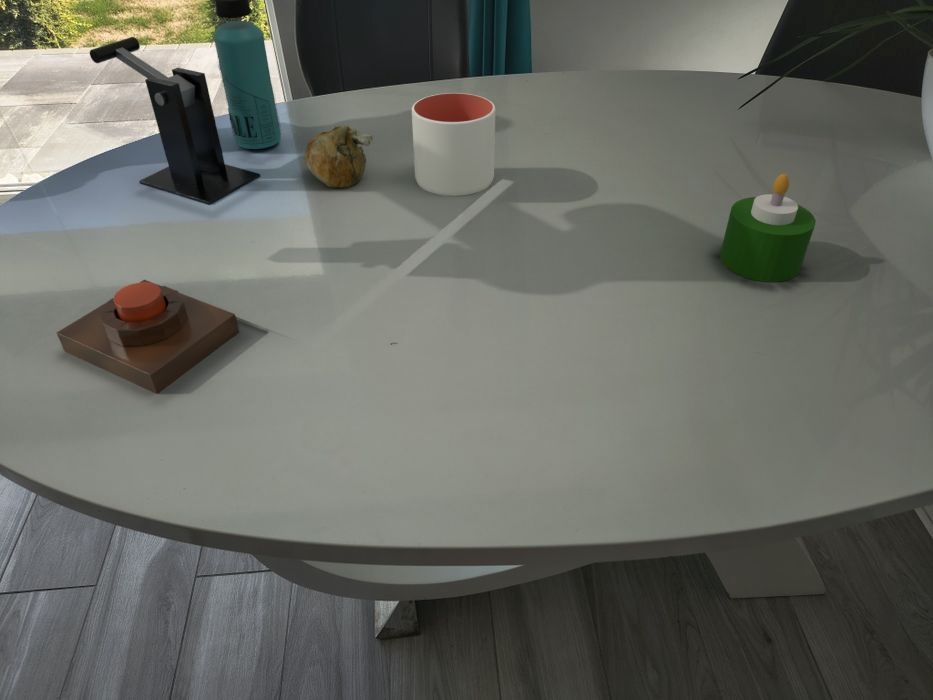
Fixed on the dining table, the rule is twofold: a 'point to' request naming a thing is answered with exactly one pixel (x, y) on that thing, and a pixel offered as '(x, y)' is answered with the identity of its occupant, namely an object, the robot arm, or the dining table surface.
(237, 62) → the beverage bottle
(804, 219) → the candle
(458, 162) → the cup
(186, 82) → the lever
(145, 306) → the button
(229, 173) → the bracket
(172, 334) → the button block
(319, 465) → the dining table surface
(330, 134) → the onion
